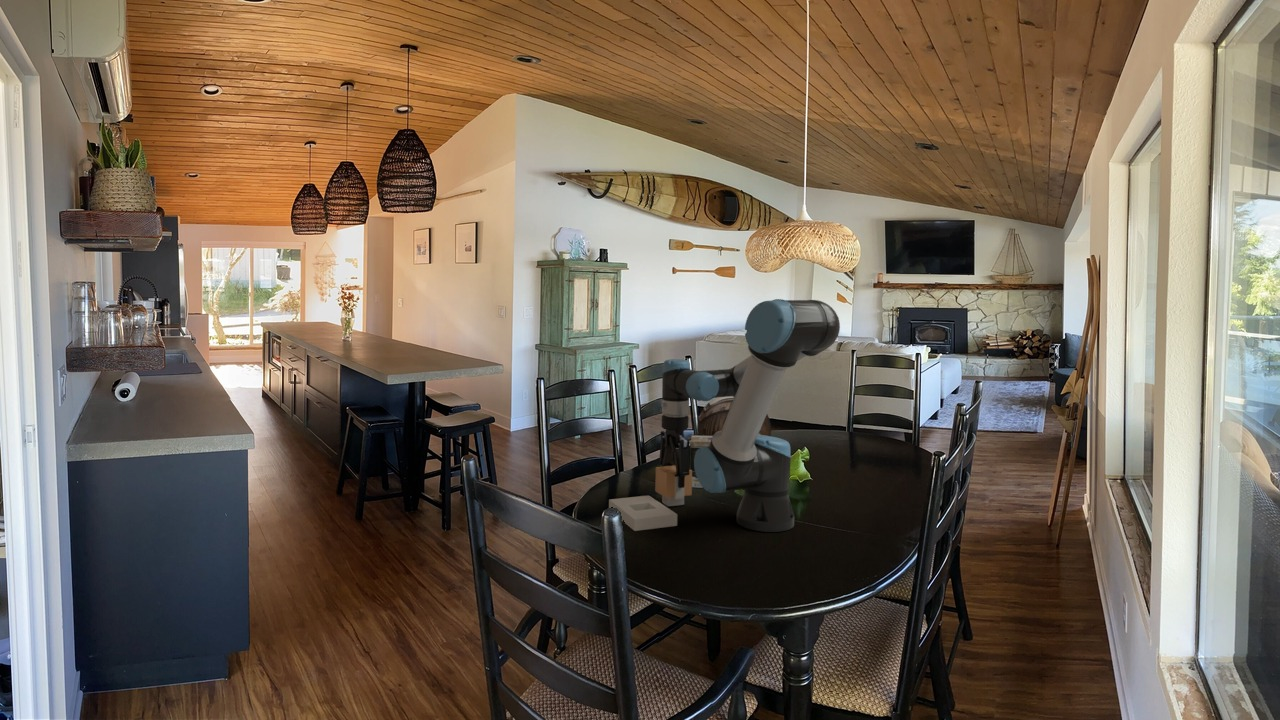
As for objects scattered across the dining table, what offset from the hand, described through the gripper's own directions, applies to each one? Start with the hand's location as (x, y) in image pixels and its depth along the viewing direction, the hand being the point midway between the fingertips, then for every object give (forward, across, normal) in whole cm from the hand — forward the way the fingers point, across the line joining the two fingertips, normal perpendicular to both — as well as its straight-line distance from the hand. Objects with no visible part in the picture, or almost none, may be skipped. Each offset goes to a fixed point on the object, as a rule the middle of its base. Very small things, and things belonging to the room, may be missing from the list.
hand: (673, 494), depth 217 cm
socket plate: (+3, +8, -13) cm, 15 cm away
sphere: (+3, -33, +39) cm, 51 cm away
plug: (+3, 0, 0) cm, 3 cm away
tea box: (+3, -14, +21) cm, 26 cm away
